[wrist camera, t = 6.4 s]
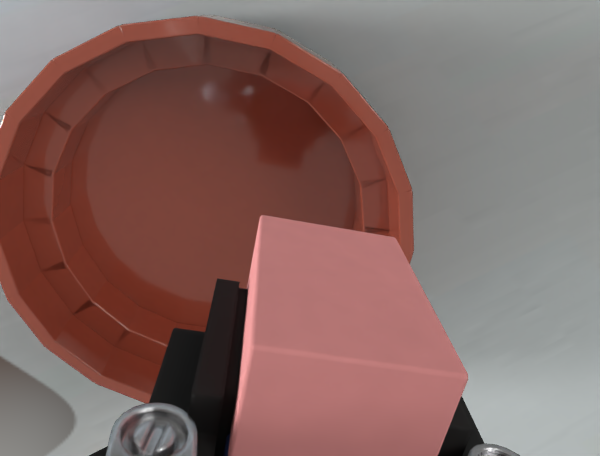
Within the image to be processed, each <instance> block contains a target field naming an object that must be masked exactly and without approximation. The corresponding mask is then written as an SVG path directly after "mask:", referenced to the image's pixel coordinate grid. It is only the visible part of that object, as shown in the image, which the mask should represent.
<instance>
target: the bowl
mask: <svg viewBox="0 0 600 456" xmlns="http://www.w3.org/2000/svg"><path fill="white" fill-rule="evenodd" d="M261 215H266V216H272V217H278V218H284V219H290V220H295V221H301V222H307V223H313V224H319V225H325V226H331V227H337V228H343V229H349V230H354V231H360V232H366V233H372V234H378V235H384V236H390V237H394V238H396V240H397V242H398V243H399V245H400V247H401V249H402V251H403V253H404V255H405V257H406V259H407V260H408V262H409V264H410V261H411V258H412V255H413V251H414V235H413V192H412V187H411V185H410V182H409V179H408V177H407V174H406V172H405V169H404V166H403V164H402V161H401V158H400V156H399V153H398V151H397V148H396V145H395V143H394V140H393V137H392V135H391V132H390V130H389V129H388V126H387V125H386V124H385V123H384V121H383V120H382V119H381V118H380V117H379V115H378V114H377V113H376V112H375V111H374V110H373V108H372V107H371V106H370V105H369V104H368V102H367V101H366V100H365V99H364V98H363V96H362V95H361V94H360V93H359V92H358V90H357V89H356V88H355V87H354V86H353V85H352V83H351V82H350V81H349V80H348V79H347V77H346V76H345V75H344V74H343V73H342V72H341V71H340V70H339V69H338V68H336V67H335V66H334V65H333V64H332V63H331V62H330V61H328V60H327V59H325V58H323V57H322V56H320V55H319V54H317V53H315V52H314V51H312V50H310V49H309V48H307V47H305V46H304V45H302V44H300V43H299V42H297V41H295V40H294V39H292V38H291V37H289V36H287V35H286V34H284V33H282V32H281V31H279V30H276V29H274V28H270V27H265V26H261V25H256V24H252V23H247V22H243V21H238V20H234V19H229V18H225V17H220V16H216V15H200V16H189V17H181V18H172V19H164V20H155V21H147V22H138V23H130V24H122V25H119V26H116V27H114V28H112V29H110V30H108V31H106V32H104V33H102V34H100V35H98V36H96V37H95V38H93V39H91V40H89V41H87V42H85V43H83V44H81V45H79V46H77V47H75V48H73V49H71V50H69V51H67V52H65V53H63V54H61V55H59V56H57V57H55V58H54V59H53V60H51V61H50V62H49V63H48V64H47V65H46V66H45V68H44V69H43V70H42V71H41V72H40V73H39V74H38V75H37V77H36V78H35V79H34V80H33V81H32V82H31V83H30V84H29V86H28V87H27V88H26V89H25V90H24V91H23V92H22V93H21V95H20V96H19V97H18V98H17V99H16V100H15V101H14V102H13V104H12V105H11V106H10V107H9V108H8V109H7V110H6V112H5V114H4V117H3V119H2V122H1V125H0V283H1V285H2V288H3V291H4V293H5V296H6V298H7V300H8V302H9V303H10V304H11V305H12V307H13V308H14V309H15V310H16V312H17V313H18V314H19V315H20V317H21V318H22V319H23V320H24V322H25V323H26V324H27V325H28V327H29V328H30V329H31V331H32V332H33V333H34V334H35V336H36V337H37V338H38V339H39V341H40V342H41V343H42V344H43V346H44V347H46V348H47V349H48V350H50V351H51V352H52V353H54V354H55V355H56V356H58V357H59V358H61V359H62V360H63V361H65V362H66V363H67V364H69V365H70V366H72V367H73V368H74V369H76V370H77V371H79V372H80V373H81V374H83V375H84V376H85V377H87V378H88V379H90V380H91V381H92V382H95V384H98V385H100V386H103V387H105V388H108V389H111V390H113V391H116V392H118V393H121V394H123V395H126V396H128V397H131V398H133V399H136V400H139V401H141V402H144V403H149V401H150V398H151V395H152V392H153V389H154V386H155V383H156V380H157V377H158V374H159V371H160V367H161V364H162V361H163V358H164V355H165V352H166V349H167V346H168V343H169V340H170V337H171V334H172V331H173V329H174V328H180V329H187V330H194V331H202V332H205V330H206V326H207V321H208V317H209V312H210V308H211V303H212V299H213V294H214V290H215V285H216V281H217V278H219V279H225V280H232V281H238V282H240V283H239V288H244V289H247V285H248V280H249V274H250V269H251V263H252V258H253V252H254V247H255V241H256V236H257V230H258V225H259V219H260V217H261Z"/></svg>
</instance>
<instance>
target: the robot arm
mask: <svg viewBox="0 0 600 456" xmlns="http://www.w3.org/2000/svg"><path fill="white" fill-rule="evenodd" d="M239 283H240V282H238V281H232V280H225V279H219V278H217V281H216V285H215V290H214V294H213V299H212V303H211V308H210V312H209V317H208V321H207V326H206V330H205V332H202V331H194V330H187V329H180V328H174V329H173V331H172V334H171V337H170V340H169V343H168V346H167V349H166V352H165V355H164V358H163V361H162V364H161V367H160V371H159V374H158V377H157V380H156V383H155V386H154V389H153V392H152V395H151V398H150V401H149V403H145V404H142V405H139V406H135V407H133V408H131V409H129V410H128V411H126V412H124V413H123V414H122V415H121V416H120V417H119V418H118V419H117V420H116V421H115V423H114V426H113V428H112V430H111V434H110V438H109V443H108V446H107V447H105V448H103V449H101V450H99V451H97V452H95V453H93V454H91V455H89V456H223V453H224V447H225V442H226V437H227V435H228V434H230V429H231V424H232V419H233V414H234V408H235V402H236V395H237V387H238V377H239V367H240V358H241V348H242V339H243V329H244V319H245V310H246V300H247V290H248V289H244V288H239ZM438 456H520V455H519V454H517V453H515V452H513V451H511V450H509V449H507V448H505V447H502V446H499V445H495V444H486V443H485V444H484V442H483V440H482V438H481V436H480V433H479V431H478V429H477V427H476V425H475V423H474V421H473V419H472V417H471V415H470V413H469V411H468V408H467V406H466V404H465V402H464V400H463V398H462V396H461V398H460V401H459V403H458V406H457V408H456V411H455V413H454V416H453V418H452V421H451V423H450V426H449V428H448V431H447V433H446V436H445V438H444V441H443V443H442V446H441V449H440V451H439V454H438Z"/></svg>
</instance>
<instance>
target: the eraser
mask: <svg viewBox="0 0 600 456" xmlns="http://www.w3.org/2000/svg"><path fill="white" fill-rule="evenodd" d="M247 289H248V290H247V300H246V310H245V319H244V329H243V339H242V348H241V358H240V367H239V377H238V387H237V395H236V402H235V408H234V414H233V419H232V424H231V429H230V434H228V435H227V437H226V442H225V447H224V453H223V456H438V454H439V451H440V449H441V446H442V443H443V441H444V438H445V436H446V433H447V431H448V428H449V426H450V423H451V421H452V418H453V416H454V413H455V411H456V408H457V406H458V403H459V401H460V398H461V396H462V393H463V391H464V388H465V386H466V383H467V381H468V374H467V372H466V370H465V368H464V366H463V364H462V362H461V360H460V359H459V357H458V355H457V353H456V351H455V349H454V347H453V345H452V343H451V342H450V340H449V338H448V336H447V334H446V332H445V330H444V328H443V326H442V325H441V323H440V321H439V319H438V317H437V315H436V313H435V311H434V310H433V308H432V306H431V304H430V302H429V300H428V298H427V296H426V294H425V293H424V291H423V289H422V287H421V285H420V283H419V281H418V279H417V277H416V276H415V274H414V272H413V270H412V268H411V266H410V264H409V262H408V260H407V259H406V257H405V255H404V253H403V251H402V249H401V247H400V245H399V243H398V242H397V240H396V238H394V237H390V236H384V235H378V234H372V233H366V232H360V231H354V230H349V229H343V228H337V227H331V226H325V225H319V224H313V223H307V222H301V221H295V220H290V219H284V218H278V217H272V216H266V215H261V217H260V219H259V225H258V230H257V236H256V241H255V247H254V252H253V258H252V263H251V269H250V274H249V280H248V285H247Z"/></svg>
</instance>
